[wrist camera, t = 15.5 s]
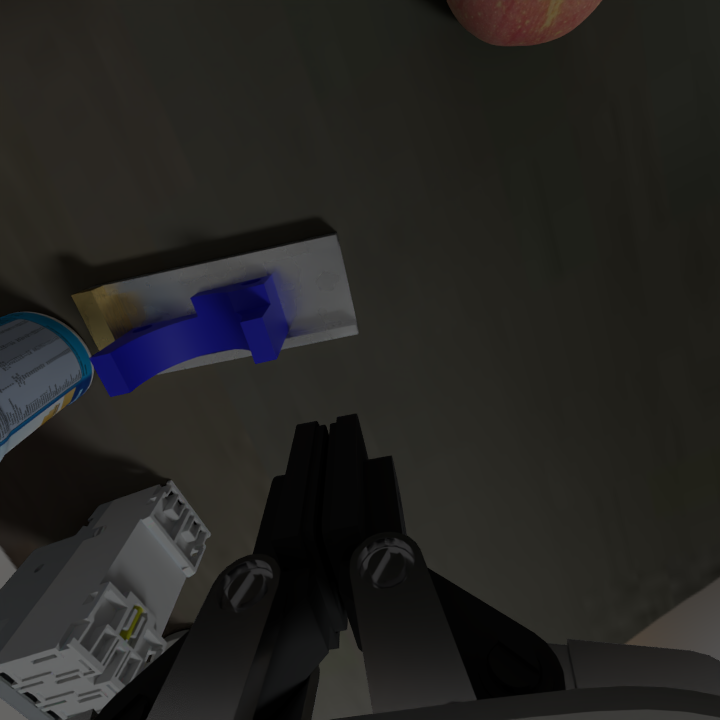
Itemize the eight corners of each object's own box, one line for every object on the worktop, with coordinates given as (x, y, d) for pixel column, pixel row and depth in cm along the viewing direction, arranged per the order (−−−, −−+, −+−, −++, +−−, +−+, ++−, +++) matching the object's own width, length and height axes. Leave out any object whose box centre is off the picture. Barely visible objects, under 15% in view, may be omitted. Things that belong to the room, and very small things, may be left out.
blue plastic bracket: (271, 274, 31) (254, 294, 26) (289, 329, 33) (276, 359, 27) (124, 310, 32) (77, 337, 26) (149, 361, 34) (110, 396, 28)
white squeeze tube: (358, 327, 33) (358, 341, 30) (137, 372, 34) (118, 389, 32) (336, 232, 30) (335, 237, 27) (95, 285, 31) (70, 295, 29)
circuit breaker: (47, 523, 41) (-107, 696, 27) (171, 479, 39) (73, 642, 25) (93, 571, 44) (-25, 751, 30) (211, 533, 42) (142, 706, 28)
